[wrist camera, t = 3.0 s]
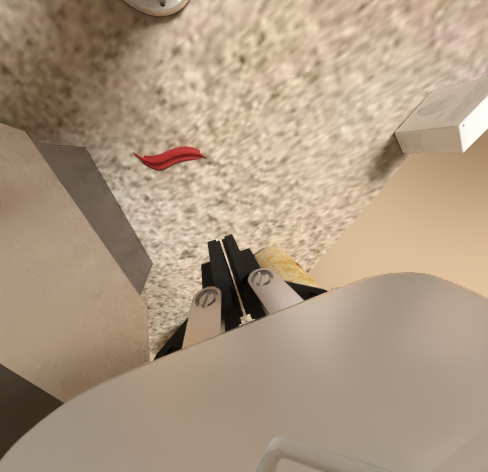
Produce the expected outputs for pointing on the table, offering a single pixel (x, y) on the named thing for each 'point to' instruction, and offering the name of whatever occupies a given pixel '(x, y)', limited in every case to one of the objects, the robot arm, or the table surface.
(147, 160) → the cayenne pepper
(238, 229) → the table surface
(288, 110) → the table surface
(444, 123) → the skincare box
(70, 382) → the lid
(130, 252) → the grey lidded box
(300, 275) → the food model
